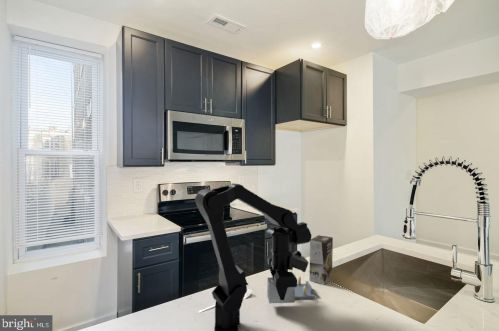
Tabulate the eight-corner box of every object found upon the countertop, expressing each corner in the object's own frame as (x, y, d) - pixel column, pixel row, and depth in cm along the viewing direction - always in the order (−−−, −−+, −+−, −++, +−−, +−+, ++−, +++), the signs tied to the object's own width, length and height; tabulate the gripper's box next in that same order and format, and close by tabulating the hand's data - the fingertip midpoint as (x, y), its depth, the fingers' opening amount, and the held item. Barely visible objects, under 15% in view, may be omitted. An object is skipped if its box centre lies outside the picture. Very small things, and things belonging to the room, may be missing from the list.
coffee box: (324, 285, 96) (325, 242, 96) (308, 280, 100) (309, 239, 100) (333, 276, 103) (333, 237, 103) (317, 272, 107) (318, 234, 107)
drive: (269, 303, 79) (269, 283, 79) (267, 295, 83) (267, 277, 83) (294, 302, 79) (294, 283, 79) (291, 295, 84) (291, 276, 84)
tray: (280, 299, 86) (281, 288, 86) (276, 286, 95) (276, 276, 95) (315, 298, 87) (315, 287, 87) (308, 285, 96) (308, 275, 96)
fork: (195, 312, 80) (195, 306, 80) (248, 292, 91) (248, 287, 91) (199, 317, 77) (199, 311, 77) (253, 296, 88) (253, 291, 88)
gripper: (315, 257, 72) (314, 312, 72) (298, 238, 91) (298, 281, 91) (276, 258, 72) (276, 313, 72) (267, 238, 90) (267, 282, 90)
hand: (280, 295), depth 81 cm, fingers closed on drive, 4 cm apart
